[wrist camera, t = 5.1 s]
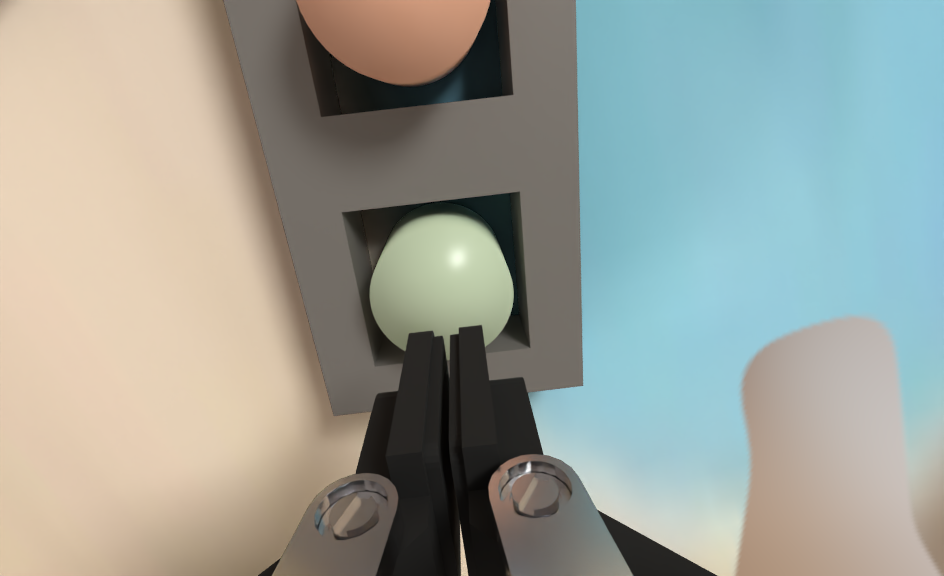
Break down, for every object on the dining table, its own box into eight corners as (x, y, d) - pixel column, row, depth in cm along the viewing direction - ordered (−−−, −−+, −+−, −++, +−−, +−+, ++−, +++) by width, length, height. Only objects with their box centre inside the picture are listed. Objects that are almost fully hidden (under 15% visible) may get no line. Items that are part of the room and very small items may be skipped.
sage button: (495, 195, 18) (508, 219, 15) (504, 305, 20) (518, 351, 16) (374, 210, 18) (356, 237, 15) (394, 319, 20) (383, 368, 16)
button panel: (528, -697, 11) (556, -974, 8) (565, 348, 21) (582, 385, 19) (99, -656, 11) (-22, -921, 8) (348, 374, 21) (333, 415, 18)
